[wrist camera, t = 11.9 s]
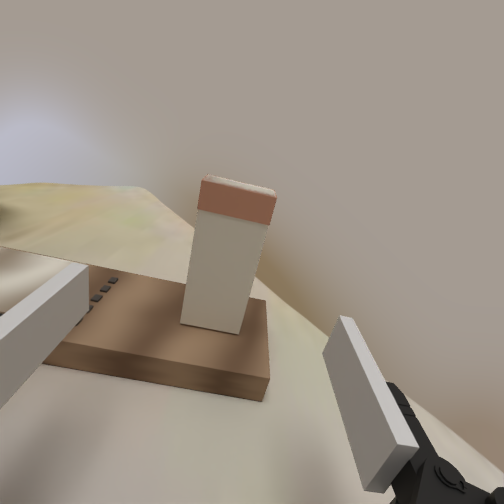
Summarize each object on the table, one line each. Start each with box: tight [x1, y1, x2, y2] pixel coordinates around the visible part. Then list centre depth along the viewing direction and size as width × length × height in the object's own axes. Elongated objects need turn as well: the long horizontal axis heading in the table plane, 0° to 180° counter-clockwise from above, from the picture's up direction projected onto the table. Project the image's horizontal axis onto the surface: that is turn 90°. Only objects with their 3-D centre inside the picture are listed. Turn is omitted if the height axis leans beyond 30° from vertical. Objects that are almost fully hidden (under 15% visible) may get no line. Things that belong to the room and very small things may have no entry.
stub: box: [180, 174, 277, 334], centre depth 22 cm, size 5×2×12 cm, turn 89°
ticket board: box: [0, 246, 270, 401], centre depth 24 cm, size 33×10×3 cm, turn 89°
